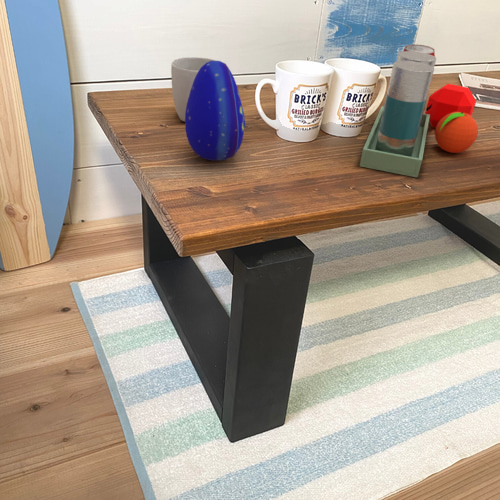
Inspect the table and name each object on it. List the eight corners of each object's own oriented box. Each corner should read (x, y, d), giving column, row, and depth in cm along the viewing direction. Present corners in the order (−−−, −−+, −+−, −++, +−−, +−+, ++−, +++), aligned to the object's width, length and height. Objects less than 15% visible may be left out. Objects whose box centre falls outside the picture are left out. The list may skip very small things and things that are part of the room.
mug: (227, 124, 95) (229, 69, 89) (180, 129, 91) (179, 71, 86) (204, 102, 104) (205, 51, 98) (161, 105, 101) (159, 52, 95)
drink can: (412, 155, 87) (435, 64, 78) (409, 169, 82) (433, 73, 73) (376, 148, 88) (395, 58, 80) (371, 161, 83) (390, 67, 75)
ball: (430, 116, 105) (439, 79, 101) (469, 125, 102) (481, 87, 98) (419, 127, 99) (429, 88, 95) (460, 137, 96) (473, 97, 92)
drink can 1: (415, 140, 92) (437, 54, 84) (412, 153, 87) (435, 62, 79) (381, 134, 94) (399, 49, 85) (376, 146, 89) (395, 57, 80)
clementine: (448, 163, 86) (461, 122, 82) (417, 148, 91) (428, 108, 87) (479, 155, 90) (492, 115, 86) (448, 141, 94) (459, 103, 90)
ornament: (247, 171, 79) (253, 72, 70) (187, 172, 77) (186, 71, 69) (237, 143, 88) (242, 52, 79) (183, 143, 86) (182, 50, 78)
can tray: (426, 129, 99) (430, 114, 97) (417, 177, 81) (422, 160, 79) (378, 121, 101) (381, 106, 99) (359, 166, 83) (362, 149, 81)
